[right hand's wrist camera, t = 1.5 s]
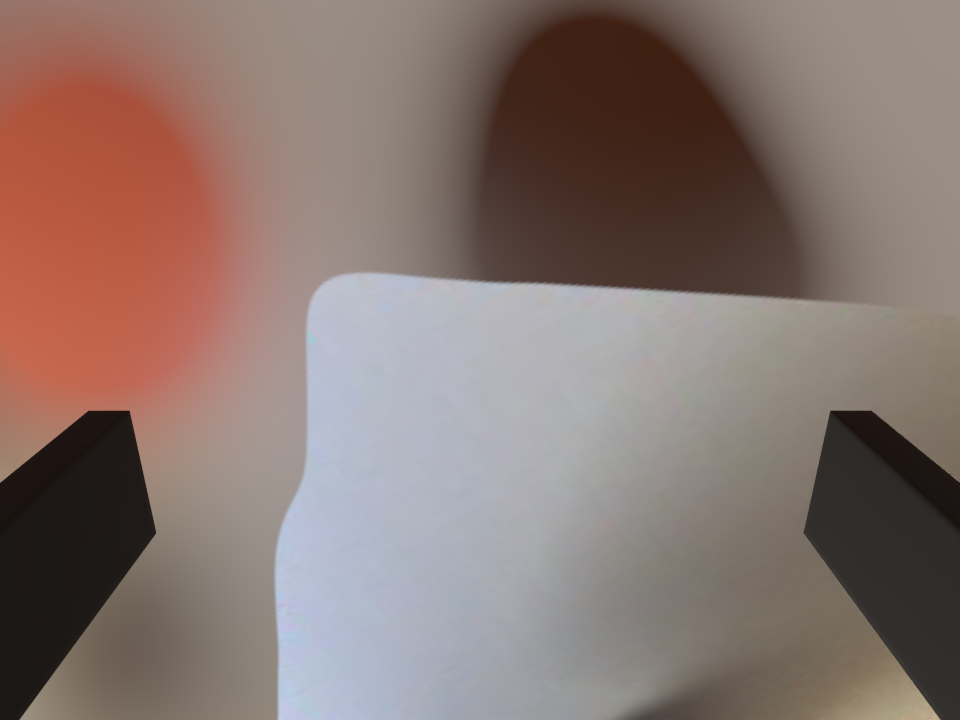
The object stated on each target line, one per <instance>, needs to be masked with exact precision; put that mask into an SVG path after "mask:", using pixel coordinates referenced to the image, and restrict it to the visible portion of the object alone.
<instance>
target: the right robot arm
mask: <svg viewBox="0 0 960 720" xmlns="http://www.w3.org/2000/svg"><path fill="white" fill-rule="evenodd" d="M155 534H156V530H155V525H154V521H153V516H152V511H151V507H150V502H149V498H148V493H147V488H146V484H145V479H144V475H143V470H142V466H141V461H140V456H139V452H138V447H137V443H136V438H135V433H134V429H133V424H132V420H131V415H130V411H88V412H87V413H85V414H84V415H83V416H82V417H80V418H79V419H78V420H77V421H76V422H74V423H73V424H72V425H71V426H69V427H68V428H67V429H66V430H65V431H63V432H62V433H61V434H60V435H58V436H57V437H56V438H55V439H54V440H52V441H51V442H50V443H49V444H47V445H46V446H45V447H44V448H42V449H41V450H40V451H39V452H38V453H36V454H35V455H34V456H33V457H31V458H30V459H29V460H28V461H27V462H25V463H24V464H23V465H22V466H20V467H19V468H18V469H17V470H15V471H14V472H13V473H12V474H11V475H9V476H8V477H7V478H6V479H4V480H3V481H2V482H1V483H0V720H20V718H21V717H22V715H23V714H24V713H25V711H26V710H27V709H28V707H29V706H30V705H31V703H32V702H33V700H34V699H35V698H36V696H37V695H38V694H39V692H40V691H41V690H42V688H43V687H44V685H45V684H46V683H47V681H48V680H49V679H50V677H51V676H52V675H53V673H54V672H55V670H56V669H57V668H58V666H59V665H60V664H61V662H62V661H63V660H64V658H65V657H66V655H67V654H68V653H69V651H70V650H71V649H72V647H73V646H74V645H75V643H76V642H77V640H78V639H79V638H80V636H81V635H82V634H83V632H84V631H85V629H86V628H87V627H88V625H89V624H90V623H91V621H92V620H93V619H94V617H95V616H96V615H97V613H98V612H99V610H100V609H101V608H102V606H103V605H104V604H105V602H106V601H107V600H108V598H109V597H110V595H111V594H112V593H113V591H114V590H115V589H116V587H117V586H118V585H119V583H120V582H121V580H122V579H123V578H124V576H125V575H126V574H127V572H128V571H129V570H130V568H131V567H132V565H133V564H134V563H135V561H136V560H137V559H138V557H139V556H140V555H141V553H142V552H143V550H144V549H145V548H146V546H147V545H148V544H149V542H150V541H151V539H152V538H153V537H154V535H155ZM804 534H805V535H806V537H807V538H808V540H809V541H810V542H811V544H812V545H813V546H814V548H815V549H816V550H817V552H818V553H819V555H820V556H821V557H822V559H823V560H824V561H825V563H826V564H827V565H828V567H829V568H830V570H831V571H832V572H833V574H834V575H835V576H836V578H837V579H838V580H839V582H840V583H841V585H842V586H843V587H844V589H845V590H846V591H847V593H848V594H849V595H850V597H851V598H852V600H853V601H854V602H855V604H856V605H857V606H858V608H859V609H860V610H861V612H862V613H863V615H864V616H865V617H866V619H867V620H868V621H869V623H870V624H871V625H872V627H873V628H874V630H875V631H876V632H877V634H878V635H879V636H880V638H881V639H882V640H883V642H884V643H885V645H886V646H887V647H888V649H889V650H890V651H891V653H892V654H893V655H894V657H895V658H896V660H897V661H898V662H899V664H900V665H901V666H902V668H903V669H904V670H905V672H906V673H907V675H908V676H909V677H910V679H911V680H912V681H913V683H914V684H915V685H916V687H917V688H918V690H919V691H920V692H921V694H922V695H923V696H924V698H925V699H926V700H927V702H928V703H929V705H930V706H931V707H932V709H933V710H934V711H935V713H936V714H937V715H938V717H939V718H940V720H960V483H959V482H958V481H957V480H956V479H954V478H953V477H952V476H951V475H949V474H948V473H947V472H946V471H945V470H943V469H942V468H941V467H940V466H938V465H937V464H936V463H935V462H933V461H932V460H931V459H930V458H929V457H927V456H926V455H925V454H924V453H922V452H921V451H920V450H919V449H918V448H916V447H915V446H914V445H913V444H911V443H910V442H909V441H908V440H907V439H905V438H904V437H903V436H902V435H900V434H899V433H898V432H897V431H895V430H894V429H893V428H892V427H891V426H889V425H888V424H887V423H886V422H884V421H883V420H882V419H881V418H880V417H878V416H877V415H876V414H875V413H873V412H872V411H830V415H829V420H828V424H827V429H826V433H825V438H824V443H823V447H822V452H821V456H820V461H819V466H818V470H817V475H816V479H815V484H814V488H813V493H812V498H811V502H810V507H809V511H808V516H807V521H806V525H805V530H804Z"/></svg>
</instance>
